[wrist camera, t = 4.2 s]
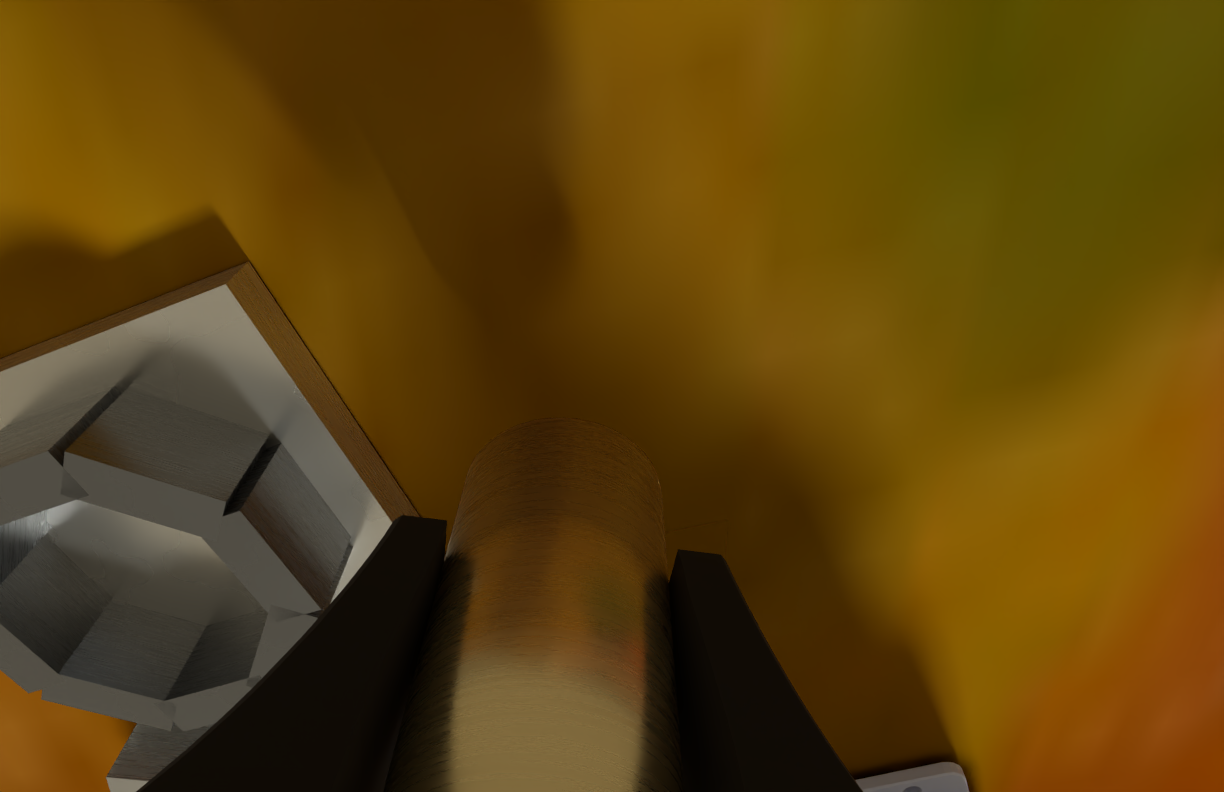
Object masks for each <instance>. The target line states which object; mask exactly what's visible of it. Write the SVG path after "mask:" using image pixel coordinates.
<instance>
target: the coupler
mask: <svg viewBox="0 0 1224 792" xmlns="http://www.w3.org/2000/svg"><path fill="white" fill-rule="evenodd" d="M383 792H684V788H683V774H682V760H681V747H680V733H679V720H678V706H677V692H676V679H675V665H674V652H673V638H672V624H671V611H670V597H669V584H668V570H667V556H666V543H665V529H664V516H663V502H662V491H661V485H660V481H659V478H658V475H657V472H656V470H655V468H654V466H653V465H652V463H651V461H650V460H649V459H648V457H647V456H646V455H645V453H644V452H643V451H642V450H641V449H640V448H639V447H638V446H637V445H636V444H634V443H633V442H632V441H631V440H629V439H628V438H627V437H625V436H623V435H622V434H620V433H618V432H617V431H615V430H613V429H610V428H608V427H606V426H603V425H600V424H597V423H594V422H591V421H586V420H581V419H574V418H546V419H538V420H533V421H529V422H525V423H522V424H519V425H517V426H514V427H512V428H510V429H508V430H506V431H504V432H502V433H500V434H499V435H497V436H496V437H495V438H493V439H492V440H490V441H489V442H488V443H487V444H486V445H485V446H484V447H483V448H482V449H481V450H480V452H479V453H478V454H477V456H476V457H475V458H474V460H473V462H472V464H471V466H470V468H469V471H468V474H467V477H466V480H465V484H464V488H463V492H462V495H461V499H460V503H459V507H458V511H457V514H456V518H455V522H454V526H453V529H452V533H451V537H450V541H449V544H448V548H447V552H446V556H445V560H444V564H443V568H442V571H441V575H440V579H439V583H438V587H437V590H436V594H435V598H434V602H433V605H432V609H431V613H430V617H429V620H428V624H427V627H426V631H425V635H424V639H423V643H422V646H421V650H420V654H419V658H418V661H417V665H416V669H415V673H414V677H413V680H412V684H411V688H410V692H409V695H408V699H407V703H406V707H405V710H404V714H403V718H402V722H401V726H400V729H399V733H398V737H397V741H396V744H395V748H394V752H393V756H392V760H391V763H390V767H389V771H388V775H387V778H386V782H385V786H384V790H383Z"/></svg>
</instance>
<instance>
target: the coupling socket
mask: <svg viewBox="0 0 1224 792" xmlns="http://www.w3.org/2000/svg"><path fill="white" fill-rule="evenodd" d="M402 515H406V516H414V517H419V515H418V514H417V512H416V511H415V509H414V508H413V506H412V505H411V503H410V502H409V500H408V499H407V497H406V496H405V494H404V493H403V491H402V490H401V488H400V487H399V485H398V484H397V482H396V481H395V479H394V478H393V476H392V475H391V473H390V472H389V470H388V469H387V467H386V466H385V464H384V463H383V461H382V460H381V458H380V457H379V455H378V454H377V452H376V451H375V449H374V448H373V446H372V445H371V443H370V442H369V440H368V439H367V437H366V436H365V434H364V433H363V431H362V430H361V428H360V427H359V425H358V424H357V422H356V421H355V419H354V418H353V416H352V415H351V413H350V412H349V410H348V409H347V408H346V406H345V405H344V403H343V402H342V400H341V399H340V397H339V396H338V394H337V393H336V391H335V390H334V388H333V387H332V385H331V384H330V382H329V381H328V379H327V378H326V376H325V375H324V373H323V372H322V370H321V369H320V367H319V366H318V364H317V363H316V361H315V360H314V358H313V357H312V355H311V354H310V352H309V351H308V349H307V348H306V346H305V345H304V343H303V342H302V340H301V339H300V337H299V336H298V334H297V333H296V331H295V330H294V328H293V327H292V325H291V324H290V322H289V321H288V319H287V318H286V316H285V315H284V313H283V312H282V310H281V309H280V307H279V306H278V304H277V303H276V301H275V300H274V299H273V297H272V296H271V294H270V293H269V291H268V290H267V288H266V287H265V285H264V284H263V282H262V281H261V279H260V278H259V276H258V275H257V273H256V272H255V270H254V269H253V267H252V266H251V264H250V263H249V261H248V262H246V263H243V264H241V265H238V266H236V267H233V268H231V269H228V270H226V271H223V272H220V273H218V274H215V275H213V276H210V277H208V278H205V279H203V280H200V281H198V282H195V283H192V284H190V285H187V286H185V287H182V288H180V289H177V290H175V291H172V292H170V293H167V294H164V295H162V296H159V297H157V298H154V299H152V300H149V301H147V302H144V303H142V304H139V305H136V306H134V307H131V308H129V309H126V310H124V311H121V312H119V313H116V314H114V315H111V316H108V317H106V318H103V319H101V320H98V321H96V322H93V323H91V324H88V325H86V326H83V327H80V328H78V329H75V330H73V331H70V332H68V333H65V334H63V335H60V336H58V337H55V338H52V339H50V340H47V341H45V342H42V343H40V344H37V345H35V346H32V347H29V348H27V349H24V350H22V351H19V352H17V353H14V354H12V355H9V356H7V357H4V358H1V359H0V670H1V671H2V672H4V673H5V674H6V675H7V676H9V677H10V678H11V679H12V680H13V681H15V682H16V683H17V684H18V685H19V686H21V687H22V688H23V689H24V690H25V691H27V692H28V693H31V692H34V691H38V690H41V689H42V700H46V701H50V702H54V703H58V704H62V705H66V706H70V707H74V708H79V709H83V710H87V711H91V712H95V713H99V714H103V715H107V716H111V717H115V718H119V719H123V720H127V721H131V722H135V723H137V725H136V727H135V728H134V730H133V732H132V733H131V735H130V737H129V739H128V740H127V742H126V744H125V746H124V747H123V749H122V751H121V752H120V754H119V756H118V758H117V759H116V761H115V763H114V765H113V766H112V768H111V770H110V771H109V773H108V775H107V777H106V779H107V782H108V785H109V788H110V791H111V792H136V791H137V790H139V789H140V788H141V787H142V786H143V785H145V784H146V783H147V782H148V781H149V780H151V779H152V778H153V777H154V776H155V775H157V774H158V773H159V772H160V771H161V770H162V769H164V768H165V767H166V766H167V765H168V764H170V763H171V762H172V761H173V760H174V759H176V758H177V757H178V756H179V755H180V754H182V753H183V752H184V751H185V750H186V749H187V748H188V747H190V746H191V745H192V744H193V743H194V742H195V741H196V740H197V739H198V738H200V737H201V736H202V735H203V734H204V733H205V732H206V731H207V730H208V729H210V728H211V727H212V726H213V725H214V724H215V723H216V722H217V721H218V720H219V719H221V718H222V717H223V716H224V715H225V714H226V713H227V712H228V711H229V710H230V709H231V708H232V707H233V706H234V705H235V704H236V703H237V702H238V701H239V700H241V699H242V698H243V697H244V696H245V695H246V694H247V693H248V692H249V691H250V690H251V689H252V688H253V687H254V686H255V685H256V684H257V683H258V682H259V681H260V680H261V679H262V678H263V677H264V676H265V675H266V674H267V672H268V671H269V670H270V669H271V668H272V667H273V666H274V665H275V664H276V663H277V662H278V661H279V660H280V659H281V658H282V657H283V656H284V655H285V654H286V653H287V652H288V651H289V650H290V648H291V647H292V646H293V645H294V644H295V643H296V642H297V641H298V640H299V639H300V638H301V637H302V636H303V635H304V634H305V633H306V631H307V630H308V629H309V628H310V627H311V626H312V625H313V623H314V622H315V621H316V620H317V619H318V618H319V616H320V615H321V614H322V613H323V612H324V611H325V609H326V608H327V607H328V606H329V605H330V604H331V602H332V601H333V600H334V599H335V598H336V597H337V595H338V594H339V593H340V592H341V591H342V590H343V588H344V587H345V586H346V585H347V584H348V582H349V581H350V580H351V578H352V577H353V576H354V575H355V573H356V572H357V571H358V570H359V568H360V567H361V566H362V565H363V563H364V562H365V561H366V559H367V558H368V557H369V555H370V554H371V553H372V551H373V550H374V549H375V547H376V546H377V544H378V543H379V542H380V540H381V539H382V537H383V536H384V535H385V533H386V532H387V530H388V529H389V527H390V526H391V524H392V522H393V521H394V520H395V519H397V518H398V517H400V516H402ZM445 556H446V555H445ZM444 560H445V557H444Z"/></svg>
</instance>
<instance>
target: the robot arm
mask: <svg viewBox="0 0 1224 792" xmlns="http://www.w3.org/2000/svg"><path fill="white" fill-rule="evenodd" d="M446 526H447V521H446V520H438V519H430V518H422V517H414V516H406V515H402V516H400V517H398V518H397V519H395V520H394V521H393V522H392V524H391V526H390V527H389V529H388V530H387V532H386V533H385V535H384V536H383V537H382V539H381V540H380V542H379V543H378V544H377V546H376V547H375V549H374V550H373V551H372V553H371V554H370V555H369V557H368V558H367V559H366V561H365V562H364V563H363V565H362V566H361V567H360V568H359V570H358V571H357V572H356V573H355V575H354V576H353V577H352V578H351V580H350V581H349V582H348V584H347V585H346V586H345V587H344V588H343V590H342V591H341V592H340V593H339V594H338V595H337V597H336V598H335V599H334V600H333V601H332V602H331V604H330V605H329V606H328V607H327V608H326V609H325V611H324V612H323V613H322V614H321V615H320V616H319V618H318V619H317V620H316V621H315V622H314V623H313V625H312V626H311V627H310V628H309V629H308V630H307V631H306V633H305V634H304V635H303V636H302V637H301V638H300V639H299V640H298V641H297V642H296V643H295V644H294V645H293V646H292V647H291V648H290V650H289V651H288V652H287V653H286V654H285V655H284V656H283V657H282V658H281V659H280V660H279V661H278V662H277V663H276V664H275V665H274V666H273V667H272V668H271V669H270V670H269V671H268V672H267V674H266V675H265V676H264V677H263V678H262V679H261V680H260V681H259V682H258V683H257V684H256V685H255V686H254V687H253V688H252V689H251V690H250V691H249V692H248V693H247V694H246V695H245V696H244V697H243V698H242V699H241V700H239V701H238V702H237V703H236V704H235V705H234V706H233V707H232V708H231V709H230V710H229V711H228V712H227V713H226V714H225V715H224V716H223V717H222V718H221V719H219V720H218V721H217V722H216V723H215V724H214V725H213V726H212V727H211V728H210V729H208V730H207V731H206V732H205V733H204V734H203V735H202V736H201V737H200V738H198V739H197V740H196V741H195V742H194V743H193V744H192V745H191V746H190V747H188V748H187V749H186V750H185V751H184V752H183V753H182V754H180V755H179V756H178V757H177V758H176V759H174V760H173V761H172V762H171V763H170V764H168V765H167V766H166V767H165V768H164V769H162V770H161V771H160V772H159V773H158V774H157V775H155V776H154V777H153V778H152V779H151V780H149V781H148V782H147V783H146V784H145V785H143V786H142V787H141V788H140V789H139V790H137V791H136V792H383V790H384V786H385V782H386V778H387V775H388V771H389V767H390V763H391V760H392V756H393V752H394V748H395V744H396V741H397V737H398V733H399V729H400V726H401V722H402V718H403V714H404V710H405V707H406V703H407V699H408V695H409V692H410V688H411V684H412V680H413V677H414V673H415V669H416V665H417V661H418V658H419V654H420V650H421V646H422V643H423V639H424V635H425V631H426V627H427V624H428V620H429V617H430V613H431V609H432V605H433V602H434V598H435V594H436V590H437V587H438V583H439V579H440V575H441V571H442V568H443V564H444V557H445V542H446ZM669 597H670V611H671V624H672V638H673V652H674V665H675V679H676V692H677V706H678V720H679V733H680V747H681V760H682V774H683V788H684V792H969V789H968V785H967V781H966V778H965V775H964V773H963V770H962V768H961V767H960V765H958V764H956V763H953V762H940V763H935V764H930V765H925V766H920V767H915V768H910V769H906V770H901V771H896V772H891V773H886V774H881V775H876V776H871V777H867V778H862V779H857V780H854V778H853V777H852V776H851V774H850V773H849V771H848V770H847V769H846V767H845V766H844V764H843V763H842V761H841V760H840V758H839V757H838V756H837V754H836V753H835V751H834V750H833V748H832V747H831V745H830V744H829V742H828V741H827V739H826V738H825V736H824V735H823V733H822V732H821V730H820V729H819V727H818V726H817V724H816V723H815V721H814V720H813V718H812V716H811V715H810V713H809V712H808V710H807V708H806V707H805V705H804V704H803V702H802V700H801V699H800V697H799V696H798V694H797V692H796V691H795V689H794V687H793V686H792V684H791V682H790V680H789V679H788V677H787V675H786V674H785V672H784V670H783V669H782V667H781V665H780V663H779V662H778V660H777V658H776V657H775V655H774V653H773V651H772V650H771V648H770V646H769V644H768V642H767V641H766V639H765V637H764V635H763V633H762V632H761V630H760V628H759V626H758V624H757V622H756V620H755V618H754V617H753V615H752V613H751V611H750V609H749V607H748V605H747V603H746V601H745V599H744V597H743V595H742V593H741V591H740V589H739V587H738V585H737V583H736V581H735V579H734V577H733V575H732V573H731V571H730V569H729V567H728V565H727V563H726V561H725V560H724V558H723V557H722V556H721V555H719V554H711V553H703V552H695V551H687V550H679V549H678V552H677V556H676V559H675V563H674V567H673V570H672V574H671V578H670V581H669Z"/></svg>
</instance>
